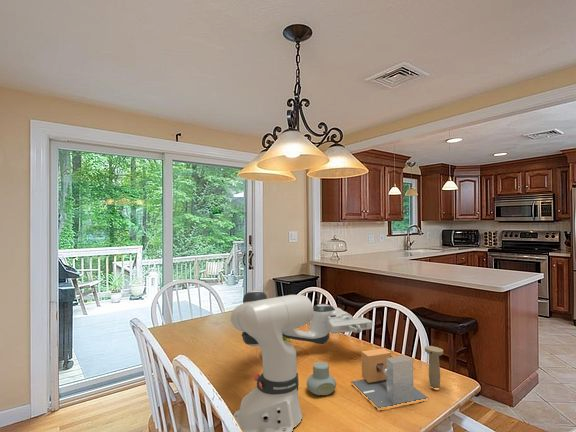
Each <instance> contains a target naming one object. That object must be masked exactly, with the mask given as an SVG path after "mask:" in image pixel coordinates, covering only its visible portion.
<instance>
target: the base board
mask: <svg viewBox="0 0 576 432" xmlns="http://www.w3.org/2000/svg"><path fill="white" fill-rule="evenodd" d="M351 383H353V384H354V385H355V386H356V387H357V388H358V389H359V390H360V391H361V392H362V393H363V394H364V395H365V396H366V397H368V399H369V400H371V401H372V402H373V403H374V404H375V405H376V406H377V407H378V408H381V407H387V406H393V405H394V404H393V403H392V402H390V401H389V400H388V399H387V380H382V381H376V382H371V383H368V382H367V381H366V380H365V379H364V378H363V379H357V380H352V381H350V384H351ZM426 398H428V399H429V397H428V396H427V395H425V394H424V393H422V392H421V391H420V390H418V389H417V388H416V387H414V401H416V400H421V399H426ZM381 401H382V402H381ZM409 402H411V401H409ZM404 403H407V402H404ZM400 404H401V403H400ZM395 405H397V404H395Z"/></svg>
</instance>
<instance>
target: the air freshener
mask: <svg viewBox="0 0 576 432" xmlns="http://www.w3.org/2000/svg"><path fill="white" fill-rule="evenodd" d="M312 370H313V371H312V374H310V376H309V377H308V378H307V379H306V380H307V381H306V387H307V389H308V391H309V392H311V393H312V394H314V395H316V396H320V395H326V396H327V395H330V394H332V393H333V392H334V391H335V389H336V386H337V381H336V379H335V378H334V377H333V376H332V375H331V374H330V366H329V363H327V362H324V361H316V362H315V363H313V365H312Z"/></svg>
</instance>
